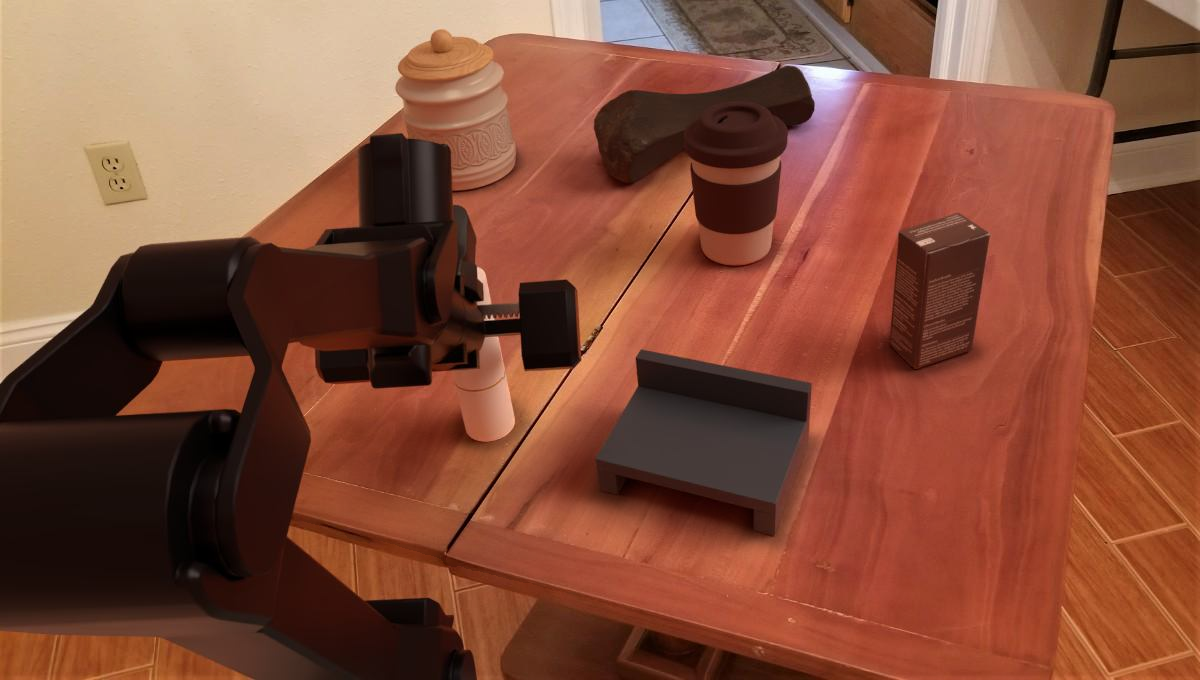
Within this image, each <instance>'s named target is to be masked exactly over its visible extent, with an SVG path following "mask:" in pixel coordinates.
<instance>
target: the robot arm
mask: <svg viewBox="0 0 1200 680" xmlns="http://www.w3.org/2000/svg"><path fill="white" fill-rule="evenodd" d="M356 153H357V156H356V157H357V193H358V195H357V198H358V226H351V227H339V228H338V227H337V228H326V229H325V230H324V231H323V233H321V235H320V236H319V238H318V239H317V241H316V243H315V244H314V245H312V246H309V247H306V248H304V249H303V248H302V249H301V248H293V247H282V246H278V245H277V244H274V243H272V242H260V241H259V240H258V239H257V238H255V237H253V236H239V237H226V238H215V239H214V238H212V239H201V240H199V239H198V240H186V241H185V240H184V241H170V242H158V243H157V242H156V243H149V244H144V245H141V246H139V247H138V248H137V249H135V251H134V252H129V253H126V254H123V255H119V257H118V259H116V261H115V262H114V263H113V265H112V266H111V267H110V269H109V271H108V273H107V275H106V277H105V279H104V281H103V283H102V285H101V287H100V289H99V290H98V293H97V295H96V296H95V299H94V301H93V303H92V304H91V305H90V306H89V307H88V308H87V309H86V310H85V311H83V312H82V313H81V314H80V315H78V316H77V317H76V318H75V319H74V320H72V322H70V323H69V324H68V325H67V326H65V327H64V328H63V329H62V330H61V331H59V332H58V333H57V334H55V335H54V336H53V337H52V338H51V339H50V340H48V341H47V342H46V343H44V345H43V346H41V347H40V348H38V350H36V351H35V352H33V354H31V355H30V356H28V357H27V359H25V360H24V361H23V362H22V363H21V364H19V365H18V366H17V367H16V368H15V369H13V370H12V371H11V372H10V373H8V374H7V375H6V376H5V377H4V378H3V379H2V381H1V382H0V632H10V633H24V634H36V635H37V634H38V635H50V636H83V637H84V636H88V637H91V636H92V637H139V638H140V637H141V638H160V639H163V640H165V641H167V642H170V643H172V644H174V645H176V646H179V647H180V648H183V649H185V650H187V651H189V652H191V653H195V654H196V655H199V656H201V657H203V658H205V659H208V660H210V661H212V662H214V663H216V664H219V665H221V666H223V667H225V668H227V669H230V670H231V671H233V672H236V673H238V674H240V675H242V676H245V677H247V678H249V679H251V680H478V677H477V670H476V663H475V658H474V655H473V652H472V650H471V649H465V647H464V642H463V639H462V637H461V635H460V634H459V632H458V631H457V630H456V629H455V628H453V627H454V622H455V616H454V614H446V612H445V611H444V609H443V607H442V605H441V604H440V603H439V602H438V601H436V600H434V599H433V598H430V597H413V598H389V599H388V598H387V599H386V598H385V599H368V600H366V599H365V600H364V599H363V597H360V596H359V595H358V594H357V593H356V592H355V591H353V590H352V588H350V587H349V586H347V585H346V583H344V582H343V581H341V580H340V579H339V578H338V577H337V576H336V575H334V574H333V573H332V572H331V571H330V570H328V569H327V568H326V567H325V566H323V565H322V564H321V563H320V562H319V561H318V560H316V558H314V557H313V556H312V555H310V554H309V552H307V551H306V550H304V549H303V548H302V547H301V546H300V545H299V544H297V543H296V542H295V541H294V540H293V539H292V538H290V537H289V536H288V534H289V529H290V526H291V522H292V517H293V514H294V510H295V505H296V502H297V498H298V494H299V491H300V486H301V482H302V478H303V475H304V471H305V467H306V463H307V458H308V455H309V451H310V448H311V443H312V434H311V433H312V432H311V429H310V427H309V425H308V423H307V420H306V419H305V416H304V414H303V411H302V409H301V407H300V405H299V403H298V401H297V398H296V396H295V393H294V392H293V390H292V387H291V386H290V383H289V380H288V378H287V376H286V374H285V372H284V370H283V364H284V360H285V357H286V353H287V350H288V347H289V344H293V343H294V344H295V343H299V344H301V346H303V347H307V348H311V349H314V363H315V364H314V366H315V367H314V368H315V370H316V372H317V375H318V377H319V378H320V379H321V380H322V381H323V383H325V384H330V385H346V384H362V383H363V384H364V383H370V386H371V387H372V388H373V389H375V390H377V389H394V388H395V389H396V388H411V387H412V388H413V387H429V386H431V385H432V384H433V373H437V372H439V373H440V372H451V371H454V370H470V369H480V356H479V351H480V350H481V348H482V345H483V343H484V339H485V337H498V338H499V337H509V336H520V350H521V351H520V352H521V360H522V365H523V369H524V372H542V371H543V372H545V371H560V370H573V369H575V368H576V367H577V366H578V365H580V363H581V362H582V345H581V330H580V329H581V328H580V311H579V297H578V295H579V294H578V293H579V292H578V289H577V288H576V286H575V285H574V284H572V283H571V282H570V281H569V280H568V279H566V278H565V279H553V280H539V281H527V282H525V281H524V282H519V287H518V302H505V303H491V304H489V305H477V302H480V301H484V292H483V283H482V282H481V281H480V280H478V276H477V267H478V266H477V264H476V250H477V249H476V246H477V242H478V241H477V235H476V232H475V230H474V227H473V223H472V222H471V219H470V217H469V213H468V212H467V210H466V208H465V207H463V206H462V205H458V204H454V197H453V196H454V195H453V194H454V193H453V191H452V165H451V149H450V147H449V146H448V145H447V144H438V143H435V142H431V141H426V140H419V139H409V138H407V137H406V136H405V135H404V134H403V133H402V132H399V133H386V134H375V135H374V134H373V135H370V136H369V142H367V143H364V145H362V146H360V147H359V148H358V149H357V151H356ZM486 315H487V317H488V319H491V316H492V315H493V318H494V319H495V320H489V321H484V319H485V318H486ZM508 316H509V318H508ZM513 316H515V318H513ZM497 317H498V318H499V319H497ZM503 317H504V318H505V319H502V318H503ZM518 317H519V318H518ZM237 357H249V358H250V360H251V362H252V364H253V367H254V371H253V374H252V377H251V380H250V384H249V387H248V390H247V393H246V396H245V400H244V403H243V406H242V409H241V412H240V411H238V410H236V409H231V408H230V409H229V408H222V409H221V408H220V409H206V410H205V409H204V410H201V409H200V410H185V411H184V410H183V411H171V412H153V413H136V414H135V413H133V414H119V413H120V412H122V411H123V410H124V409H125V408H126V407H127V406H128V405H129V404H130V403H131V402H132V401H133V400H134V399H136V397H138V396H139V395H140V394H141V393H142V392H143V391H144V390H145V389H146V388H147V387H149V385H150V384H152V382H153V381H154V380H155V378H156V377H157V375H158V374H159V372H160V370H161V368H162V365H163V362H174V361H190V360H207V359H222V358H223V359H225V358H237ZM118 414H119V415H118Z"/></svg>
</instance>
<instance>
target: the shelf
mask: <svg viewBox="0 0 1200 680" xmlns="http://www.w3.org/2000/svg"><path fill="white" fill-rule="evenodd" d="M635 368H636V378H637V387H636V389H635V390H634V392H633V394H632V396H631V397H630V399H629V401H628V402H627V404H626V406H625V408H624V409H623V411H622V412H621V415H620V416H619V418H618V419H617V421H616V423H615V425H614V426H613V428H612V430H611V431H610V433H609V434H608V436H607V438H606V440H605V442H604V443H603V445H602V446H601V448H600V450H599V452H598V454H597V455H596V457H595V458H594V461H595V467H596V475H597V481H598V488H599V490H600V492H601V491H602V492H606V493H609V494H614V495H619V494H620V492H621V489H622V488H623V486H624V484H625V482H626V480H627V479H628V478H629V479H632V480H636V481H639V482H644V483H648V484H652V485H656V486H659V487H664V488H668V489H672V490H675V491H680V492H684V493H688V494H691V495H696V496H699V497H704V498H707V499H711V500H714V501H720V502H723V503H727V504H731V505H735V506H739V507H742V508H747V509H751V510H753V531H754V532H757V533H761V534H765V535H769V536H772V537H775V536H776V535H777V531H778V529H779V526H780V523H781V521H782V518H783V516H784V512H785V509H786V506H787V503H788V501H789V498H790V495H791V494H792V493H791V492H792V490H793V487H794V484H795V481H796V479H797V476H798V474H799V470H800V468H801V465H802V463H803V459H804V457H805V454H806V451H807V449H808V446H809V440H810V439H809V436H810V419H811V403H812V387H813V384H812V382H810V381H809V382H808V381H804V380H799V379H794V378H788V377H784V376H778V375H774V374H768V373H764V372H758V371H754V370H748V369H743V368H738V367H733V366H727V365H723V364H718V363H713V362H707V361H702V360H697V359H693V358H688V357H682V356H677V355H673V354H666V353H661V352H656V351H652V350H646V349H642V348H641V349H640V350H639V351H638V353H637V355H636V356H635Z"/></svg>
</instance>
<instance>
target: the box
mask: <svg viewBox="0 0 1200 680" xmlns="http://www.w3.org/2000/svg"><path fill="white" fill-rule="evenodd" d="M990 237H991V233H990V232H989V231H988V230H986V229H985V228H983V227H981V226H980V225H978V224H977V223H975V222H973V220H971V219H969V218H968V217H966V216H965V215H963V214H962V213H960V212H956V213H953V214H949V215H946V216H943V217H940V218H937V219H933V220H929V221H927V222H923V223H920V224H917V225H914V226H910V227H907V228H903V229H899V230H898V239H897V249H896V250H897V251H896V263H895V275H894V285H893V296H892V307H891V309H892V310H891V318H890V331H889V342H888V343H889V346H891V347H892V349H893V350H894V351H895V352H897V354H898V355H899V356H900V357H901V358H902V359H904V361H906V362H907V364H909V366H911V367H913V369H915V370H917V369H920V368H924V367H927V366H929V365H932V364H935V363H938V362H941V361H944V360H948V359H949V358H953V357H955V356H958V355H961V354H964V353H968V352H971V351H972V350H973V345H974V339H975V332H976V326H977V320H978V315H979V314H978V312H979V306H980V301H981V295H982V289H983V281H984V275H985V268H986V263H987V256H988V251H989V243H990Z"/></svg>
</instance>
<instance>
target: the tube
mask: <svg viewBox="0 0 1200 680" xmlns="http://www.w3.org/2000/svg"><path fill="white" fill-rule="evenodd" d="M477 276H478V280H480V281H481V282H482V283H483V292H484V301H480V302H477V305H489V304H492V299H491V295H490V294H491V293H490V289H489V285H488V280H487V275H486V272H485V271H484V269H482V268H481V267H480V266H477ZM489 320H496V319H494V318H493V315H492V316H491V319H488V317H487V315H486V318H485V319H484V321H489ZM479 356H480V369H470V370H454V371H450V372H451V376H452V380H453V384H454V388H455V392H456V397H457V400H458V404H459V408H460V409H459V410H460V413H461V417H462V421H463V425H464V429H465V432H466V434H467V436H468V437H469V438H471V439H473V440H475V441H479V442H485V443H486V442H487V443H488V442H494V441H497V440H500V439H503V438H504V437H506V436H508V434H509V433H511V432H512V431H513V429H514V427H515V424H516V417H515V413H514V412H515V411H514V408H513V403H512V398H511V394H510V388H509V383H508V377H507V373H506V369H505V363H504V359H503V354H502V349H501V343H500V339H499V336H498V337H485V339H484V343H483V345H482V348H481V350H480V351H479Z"/></svg>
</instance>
